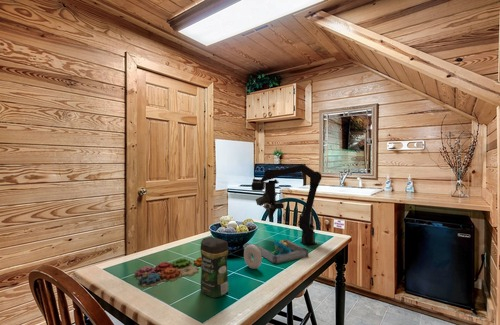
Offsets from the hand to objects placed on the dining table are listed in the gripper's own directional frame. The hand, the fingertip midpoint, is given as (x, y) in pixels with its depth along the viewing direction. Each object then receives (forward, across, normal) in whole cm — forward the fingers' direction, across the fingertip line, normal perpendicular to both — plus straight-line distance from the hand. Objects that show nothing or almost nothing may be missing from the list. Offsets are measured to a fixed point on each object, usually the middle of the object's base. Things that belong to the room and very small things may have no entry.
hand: (270, 218), depth 148 cm
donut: (+12, +29, -27) cm, 41 cm away
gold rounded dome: (+12, +12, +2) cm, 17 cm away
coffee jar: (+12, +40, -48) cm, 64 cm away
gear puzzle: (+13, +16, -55) cm, 59 cm away
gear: (+12, +23, -7) cm, 27 cm away
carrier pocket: (+12, +21, -7) cm, 25 cm away
